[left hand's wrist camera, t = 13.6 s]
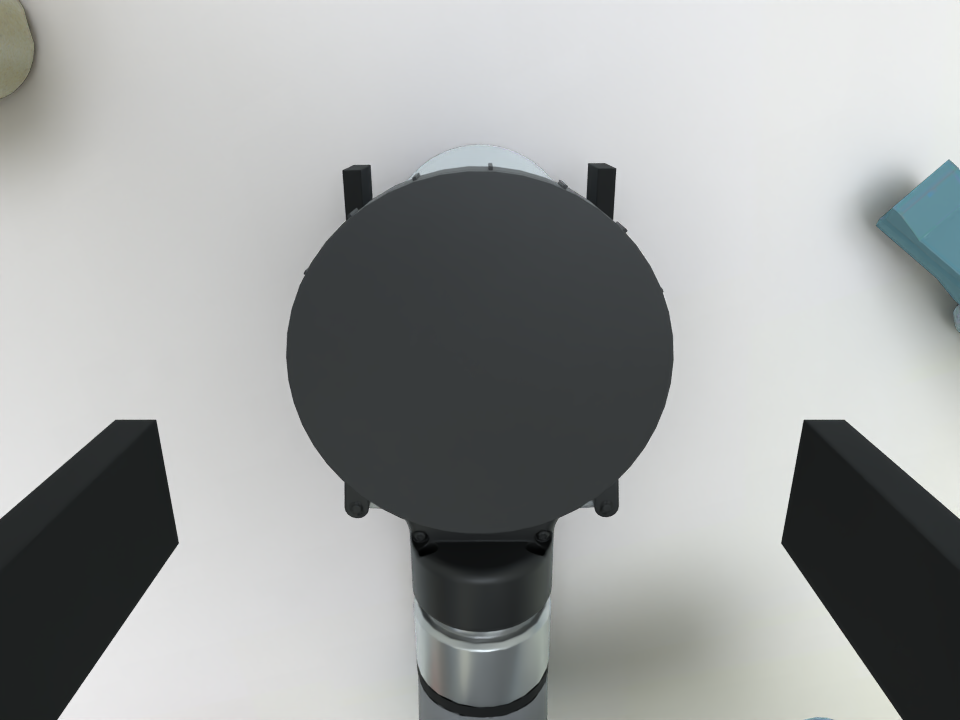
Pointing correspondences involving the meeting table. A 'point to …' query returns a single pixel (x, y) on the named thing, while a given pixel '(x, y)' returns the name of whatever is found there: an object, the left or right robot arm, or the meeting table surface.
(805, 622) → the meeting table surface
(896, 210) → the toy gun
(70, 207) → the meeting table surface
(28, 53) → the flower pot
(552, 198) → the lid
